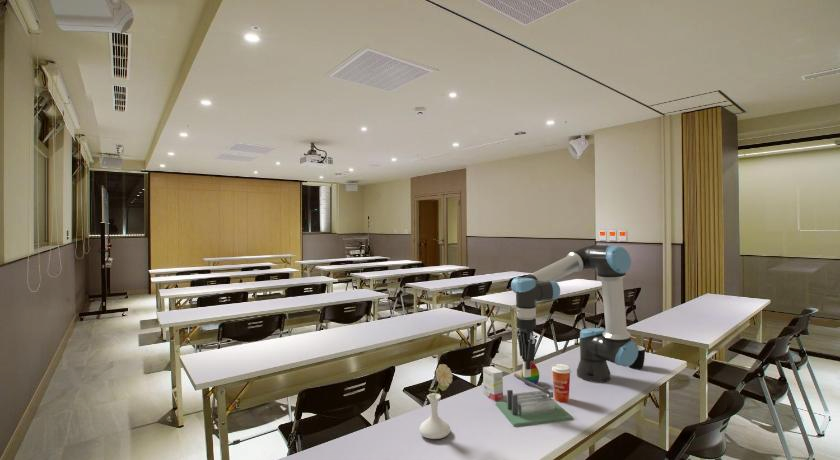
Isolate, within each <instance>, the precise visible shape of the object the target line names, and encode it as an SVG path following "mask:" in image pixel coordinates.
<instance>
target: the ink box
mask: <svg viewBox="0 0 840 460" xmlns="http://www.w3.org/2000/svg"><path fill="white" fill-rule="evenodd" d="M482 374H483V375H482V377H483V378H482V381H483V384H482V385H483V387H482V388H483V394H484V395H485V396H486V397H487V398H489V399H490V400H492V401H494V402H495V401H496V402H497V401H499V400H503V399H504V388H503V387H504V385H503V384H504V381H503V380H504V379H503V377H504V376H503V372H502V371H501V370H499V369H497V368H496V367H494V366H492V365H489V366H484V367H482Z"/></svg>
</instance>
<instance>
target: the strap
mask: <svg viewBox="0 0 840 460" xmlns="http://www.w3.org/2000/svg"><path fill="white" fill-rule="evenodd" d="M513 377H515V378H516V379H517V380H519V381H521V382H523V383H524V382H525V383H527V384H529V385H528V386H530V387H533V388H534V389H537V390H538V391H543V392H545V393H547V396H549V392H550V390H549V389H548V390H547V389H546V390H545V389H544V388H545V387H541V386H540V385H538V384H534V383H532V382H530V381H528V380H526V379H524V378H522V376H521V374H518V373H516V372H514V375H513ZM525 383H524V384H525ZM527 384H526V385H527Z"/></svg>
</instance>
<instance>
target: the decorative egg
mask: <svg viewBox="0 0 840 460" xmlns="http://www.w3.org/2000/svg"><path fill="white" fill-rule="evenodd" d="M539 371H540V370H539V368H538V367H537V365H536V364H535V363H534V362H533V361H531V377H524V376H523V367H522V368H521V374H520V376H521V377H522V378H524V379H526V380H528V381H530V382H532V383H534V384H536V385H538V382H539V380H540V372H539ZM523 383H524V384H525V385H527V386H530V385H529V384H527V383H525V382H523Z"/></svg>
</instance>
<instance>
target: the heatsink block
mask: <svg viewBox="0 0 840 460" xmlns="http://www.w3.org/2000/svg"><path fill="white" fill-rule="evenodd" d="M543 388H544V389H545V390H546V389H547V390H548V391H549V389H548V387H543ZM516 394H517V402H518V414H519V415H520V416H521V417H527V416H535V415H543V414H551V413H555V403H554V401H555V398H554V391H549V395H548V394H547V393H545V392H543V391H541V390H533V391H525V392H518V393H517V392H515V393H514V392H513V395H516ZM553 398H554V399H553Z"/></svg>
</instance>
